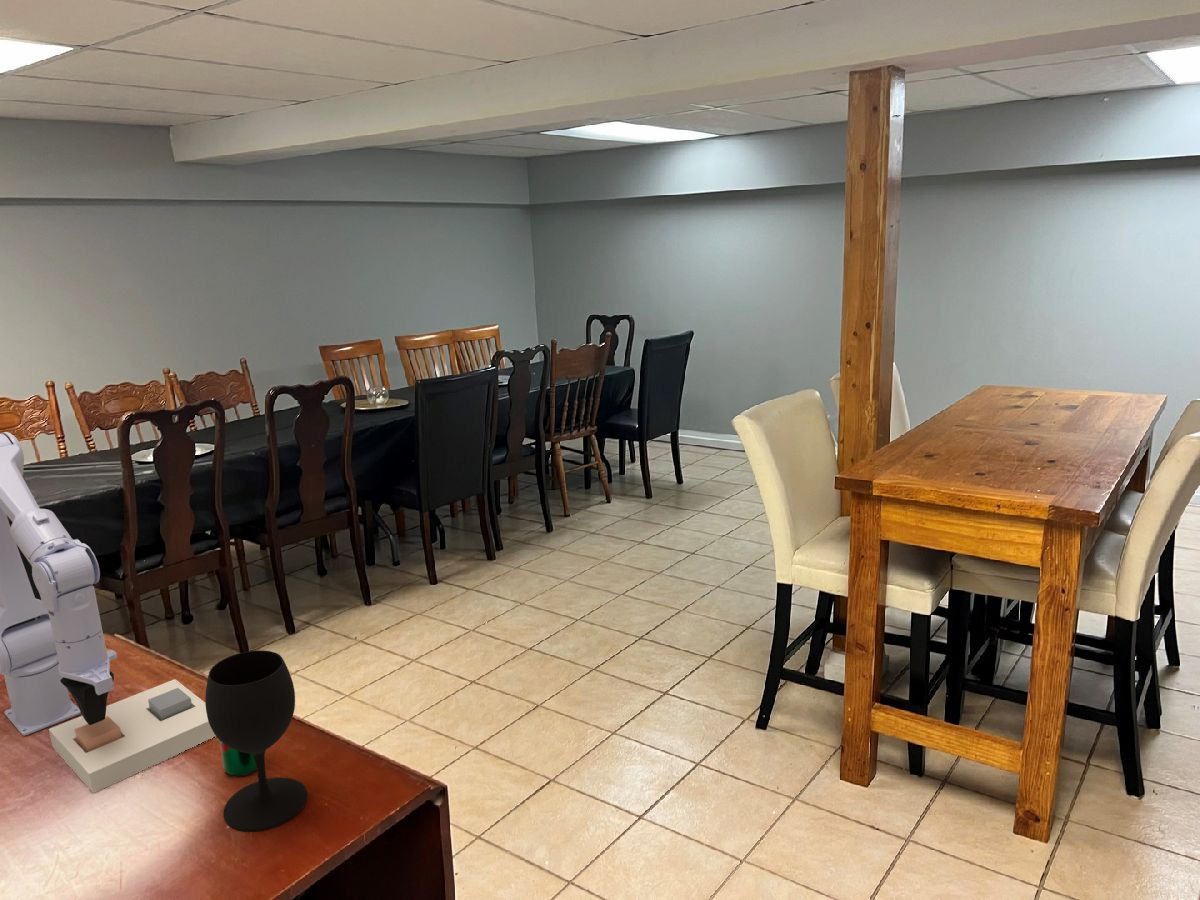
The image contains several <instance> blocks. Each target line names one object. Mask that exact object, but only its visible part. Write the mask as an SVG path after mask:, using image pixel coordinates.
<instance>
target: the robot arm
mask: <svg viewBox="0 0 1200 900" xmlns="http://www.w3.org/2000/svg"><path fill="white" fill-rule="evenodd" d="M24 464H25V454H24V450H23V448H22V446H21V443H20V442H19V440H18V439H17V437H16V436H15V435H14V434H12V433H10V432H9V431H4V432H0V675H2V676H4V682H5V686H6V690H7V695H8V699H9V702H10V703H9V704H10V708H8V709H5V711H4V712H3V713H4V715H5V716H6V718H7V719H8V720H9V721H10V722H11V723H12V724H13V725H14V727H15V729H16V730H17V731H18V732H19V733H20V734H21V735H22V736H28V735H30V734H33V733H35V732H38V731H41V730H43V729H47V728H48V727H52V726H53V725H56V724H59V723H61V722H63V721H66V720H68V719H71V718H74V717H76V716H79V715H81V716H83V718H84V719H85V721H86V722H87V723H88V724H89V725H92V724H95V723H97V722H100V721H102V720H104V719H105V716H106V706H108V705H107V704H108V703H107V702H108V695H109V692H110V691H113V690H115V687H114V679H115V675H114V673H113V672H112V671H111V669H110V667H111V661H112V660H115V659H117V658H118V655H117V652H116V651H115V650H113V649H109V650H107V647H106V641H105V638H104V633H103V627H102V622H101V616H100V611H99V605H98V599H97V595H96V591H95V586H94V584H98V583H99V581H100V576H101V571H100V566H99V562H98V560H97V558H96V555H95V553H94V552H93V551H92V548H91V547H90V546H89V545H87V544H86V543H84V542H83V543H82V542H81V541H80V540H79V539H78V538H76V539H73V538H72V537H71V535H70V533H69V532H68V531H67V529H66V528H65V527H64V526H63V523H62V522H61V521H60V520H59V519H58V517H57V515H56V514H55V512H53V511H52V510H50V509H46V508H40V506H39V505H38V503H37V501H36V499H35V497H34V496H33V494H32V492H31V490H30V488H29V487H28V485H27V483H26V481H25V479H24V478H23V476H24V466H25V465H24ZM9 520H10V521H11V522H12V523H11V524H10V521H9ZM19 550H20V551H21V553H22V554H23V556H24V557H25V558H26V560H27V562H28V563H29V565H30V566H31V572H32V573H31V576H32V580H33V583H34V585H35V587H36V590H37V592H38V593H39V596H40V599H38V598H36V597H35V594H34V591H33V588H32V585H31V582H30V579H29V576H28V572H27V571H26V568H25V565H24V562H23V559H22V557H21V556H22V555H21V554H20V551H19ZM37 617H40V618H37ZM35 618H37V619H35ZM31 619H35V620H31ZM29 620H31V621H29ZM26 621H28V622H26ZM23 622H25V623H23ZM20 623H22V624H20ZM17 624H18V625H17ZM14 625H17V626H14ZM12 626H14V627H12ZM9 627H11V628H9ZM70 694H71V696H72V698H73V699H74V701H75V702H73V701H72V700H71V698H70ZM75 703H76V704H75Z"/></svg>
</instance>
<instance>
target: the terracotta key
mask: <svg viewBox="0 0 1200 900" xmlns="http://www.w3.org/2000/svg"><path fill="white" fill-rule="evenodd" d="M75 734H76V738H77V742H78V743H79V744H80V745H81V746H82V747H83V748H84V750H85V751H86V752H90V751H92V750H95V749H97V748H99V747H102V746H104V745H106V744H109V743H111V742H113V741H116V740H118V739H120V738H122V736H121V731H120V727H119V726H118V725H117V724H116V723H115V722H114V721H113V720H112V719H111V718H110V717H109V716H107V717H105V719H104V720H102V721H100V722H97V723H95V724H92V725H89V724H87V725H84V726H82V727H79V728H77V729H75Z"/></svg>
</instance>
